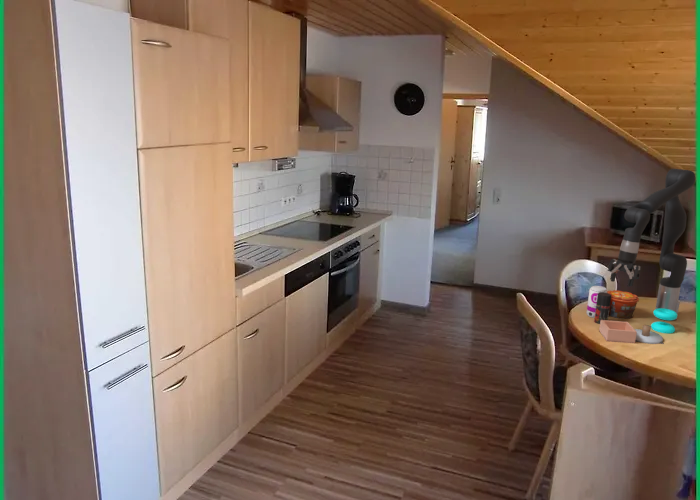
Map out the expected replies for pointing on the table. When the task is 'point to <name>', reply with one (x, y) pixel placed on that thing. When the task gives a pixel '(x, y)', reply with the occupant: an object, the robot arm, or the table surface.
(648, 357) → the table surface
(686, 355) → the table surface
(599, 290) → the supplement can
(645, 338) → the lid
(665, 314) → the donuts
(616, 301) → the food container
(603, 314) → the deodorant
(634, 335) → the dish
